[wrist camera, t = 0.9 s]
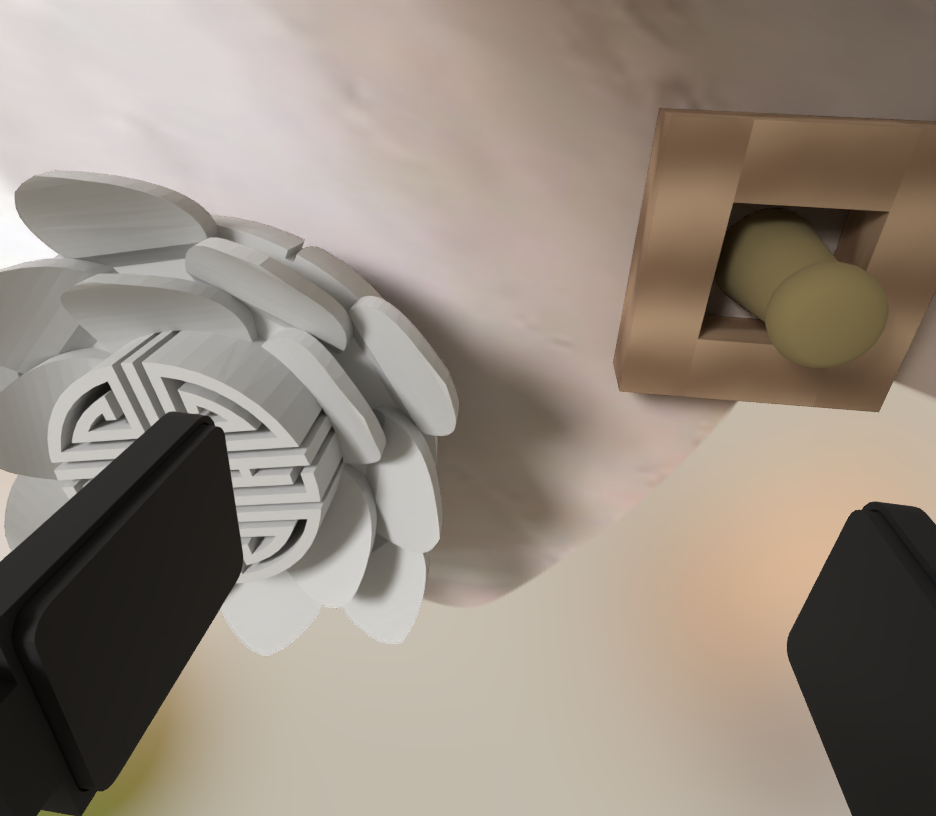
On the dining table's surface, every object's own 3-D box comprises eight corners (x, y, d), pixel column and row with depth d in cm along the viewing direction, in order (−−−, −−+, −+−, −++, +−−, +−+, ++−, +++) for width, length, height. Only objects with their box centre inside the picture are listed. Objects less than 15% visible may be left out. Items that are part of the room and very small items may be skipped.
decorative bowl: (450, 91, 34) (396, 119, 21) (508, 496, 49) (497, 655, 36) (-4, 164, 39) (-268, 223, 26) (175, 512, 54) (62, 657, 41)
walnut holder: (659, 108, 33) (672, 115, 30) (960, 122, 32) (1009, 132, 29) (613, 363, 42) (619, 391, 38) (850, 381, 41) (878, 412, 37)
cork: (839, 230, 36) (944, 296, 26) (778, 317, 39) (853, 403, 30) (749, 192, 35) (824, 246, 26) (694, 284, 38) (744, 361, 29)
